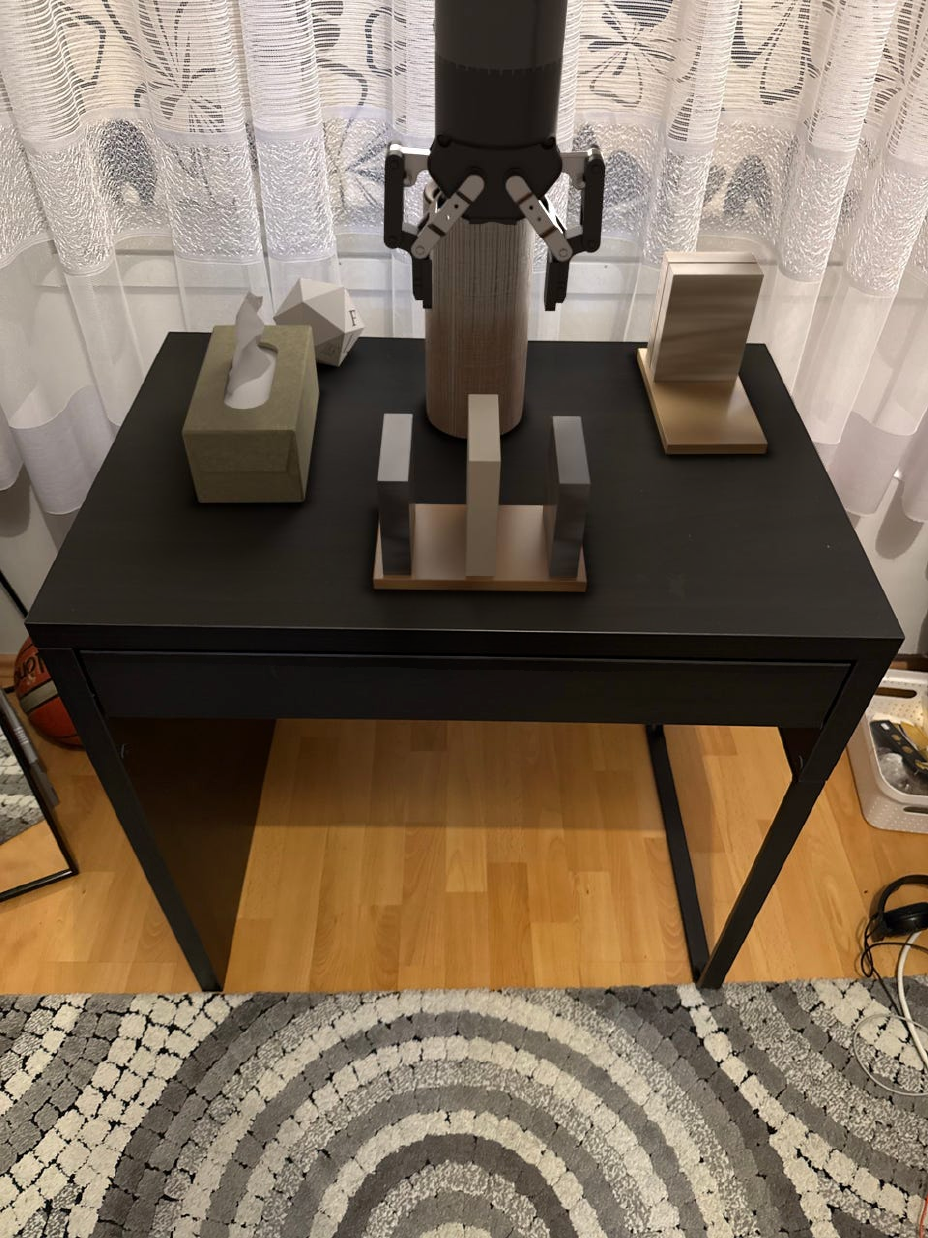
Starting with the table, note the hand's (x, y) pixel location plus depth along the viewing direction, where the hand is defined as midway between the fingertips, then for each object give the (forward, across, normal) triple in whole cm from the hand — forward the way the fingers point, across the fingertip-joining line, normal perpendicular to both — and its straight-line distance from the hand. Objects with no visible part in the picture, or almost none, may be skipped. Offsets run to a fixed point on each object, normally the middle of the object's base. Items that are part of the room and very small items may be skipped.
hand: (489, 304), depth 65 cm
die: (+24, -17, +32) cm, 43 cm away
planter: (+24, 0, +21) cm, 32 cm away
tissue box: (+24, -21, +15) cm, 35 cm away
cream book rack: (+23, +23, +24) cm, 41 cm away
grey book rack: (+23, 0, 0) cm, 23 cm away
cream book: (+22, 0, 0) cm, 22 cm away
